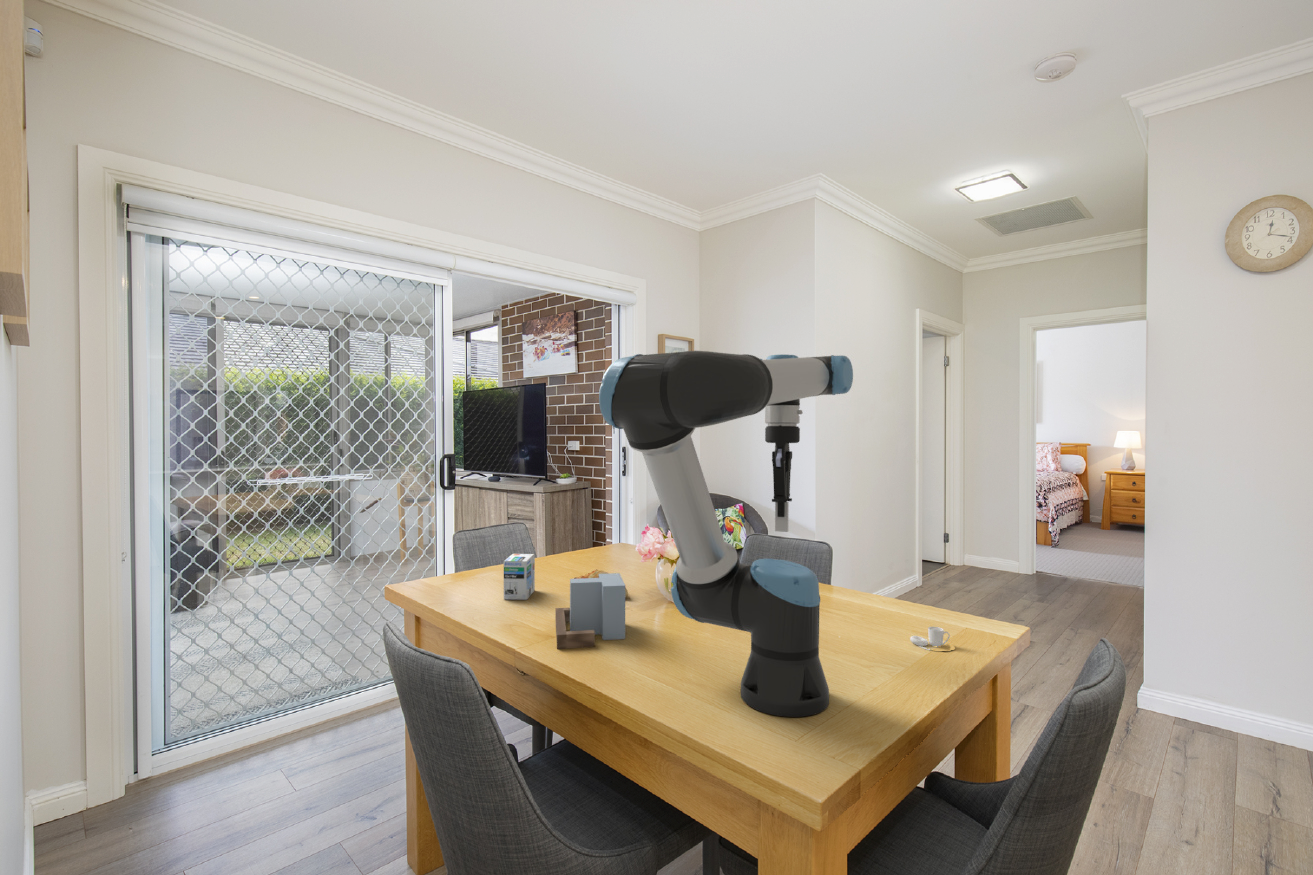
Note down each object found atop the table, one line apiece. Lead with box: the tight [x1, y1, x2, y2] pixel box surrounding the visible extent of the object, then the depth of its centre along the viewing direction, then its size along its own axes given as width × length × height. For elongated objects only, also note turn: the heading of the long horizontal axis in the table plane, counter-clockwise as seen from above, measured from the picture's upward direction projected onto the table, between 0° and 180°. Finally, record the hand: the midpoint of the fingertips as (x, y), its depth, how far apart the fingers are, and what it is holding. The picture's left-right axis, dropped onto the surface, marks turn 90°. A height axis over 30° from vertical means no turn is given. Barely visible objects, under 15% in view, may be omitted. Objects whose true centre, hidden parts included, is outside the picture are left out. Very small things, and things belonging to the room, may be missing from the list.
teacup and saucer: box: [909, 626, 951, 651], centre depth 136 cm, size 9×8×4 cm
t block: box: [569, 572, 626, 641], centre depth 144 cm, size 12×12×12 cm
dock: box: [554, 607, 596, 650], centre depth 143 cm, size 8×20×3 cm, turn 10°
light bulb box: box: [503, 553, 536, 601], centre depth 175 cm, size 11×7×11 cm, turn 179°
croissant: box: [573, 569, 629, 598], centre depth 177 cm, size 21×10×8 cm, turn 51°
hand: (781, 530), depth 138 cm, fingers closed
